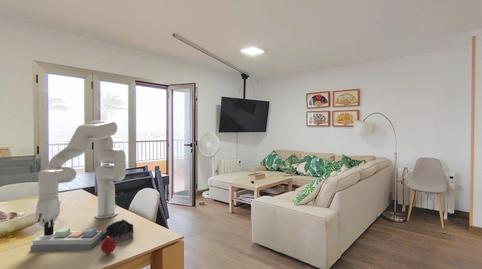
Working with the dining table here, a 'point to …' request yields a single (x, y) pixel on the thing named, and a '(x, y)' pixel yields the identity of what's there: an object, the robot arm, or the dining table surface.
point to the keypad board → (66, 247)
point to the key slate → (89, 232)
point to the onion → (108, 245)
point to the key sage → (62, 232)
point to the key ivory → (47, 236)
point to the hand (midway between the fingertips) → (48, 234)
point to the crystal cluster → (119, 230)
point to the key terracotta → (76, 235)
